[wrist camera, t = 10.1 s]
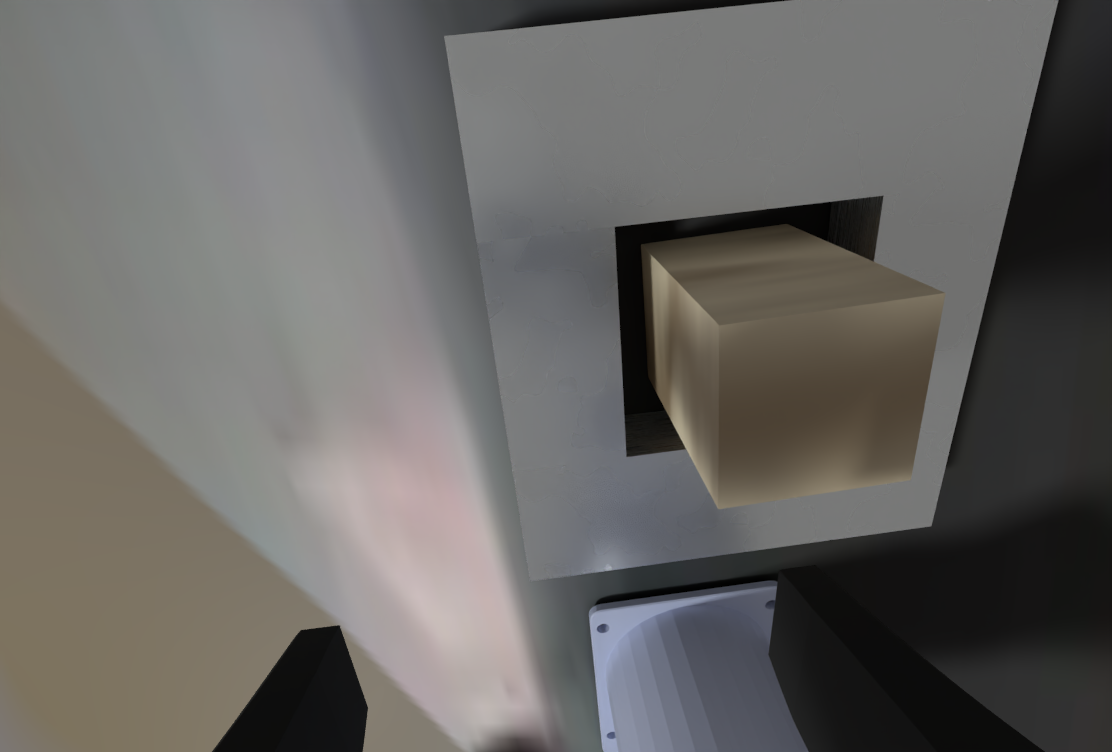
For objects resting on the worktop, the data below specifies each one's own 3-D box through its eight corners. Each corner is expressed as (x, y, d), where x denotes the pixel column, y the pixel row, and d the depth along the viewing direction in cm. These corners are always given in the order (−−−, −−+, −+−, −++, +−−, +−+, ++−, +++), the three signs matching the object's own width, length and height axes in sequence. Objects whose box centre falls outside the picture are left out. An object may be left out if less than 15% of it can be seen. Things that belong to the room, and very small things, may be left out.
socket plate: (887, 483, 22) (931, 526, 20) (527, 531, 22) (529, 581, 20) (981, -9, 15) (1065, -28, 13) (453, 45, 15) (444, 36, 12)
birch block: (779, 357, 20) (910, 480, 13) (648, 376, 19) (718, 509, 13) (786, 223, 18) (945, 293, 11) (640, 244, 17) (719, 325, 11)
